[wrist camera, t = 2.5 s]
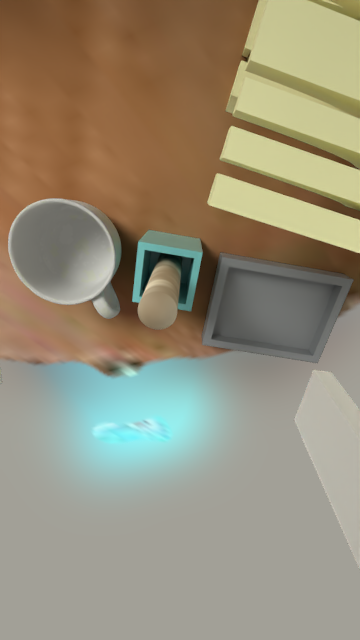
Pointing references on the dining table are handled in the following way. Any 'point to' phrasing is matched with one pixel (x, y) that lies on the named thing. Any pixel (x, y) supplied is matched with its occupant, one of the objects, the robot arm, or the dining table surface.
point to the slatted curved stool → (298, 117)
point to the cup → (175, 245)
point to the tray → (273, 307)
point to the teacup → (67, 253)
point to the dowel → (161, 293)
